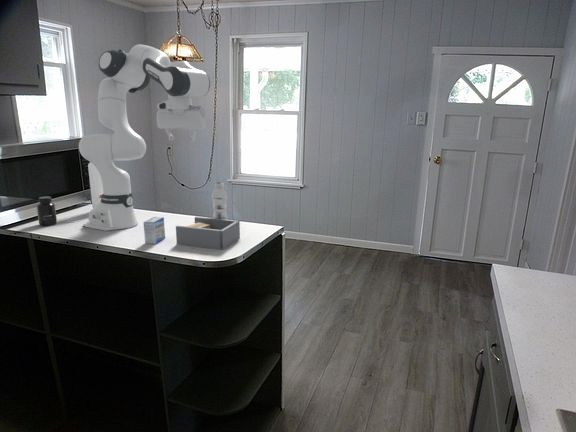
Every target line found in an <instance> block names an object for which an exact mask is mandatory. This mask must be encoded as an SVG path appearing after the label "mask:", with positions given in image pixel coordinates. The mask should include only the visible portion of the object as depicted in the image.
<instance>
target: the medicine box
mask: <svg viewBox="0 0 576 432" xmlns="http://www.w3.org/2000/svg"><path fill="white" fill-rule="evenodd" d="M165 230H166V229H165V218H164V216H153V217H150V218H149V219H147V220H145V221H143V232H144V233H143V234H144V244H147V245H148V244H150V245H158V243H160V242H162V241H163V240H165V239H166V231H165Z"/></svg>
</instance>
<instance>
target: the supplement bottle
mask: <svg viewBox="0 0 576 432" xmlns="http://www.w3.org/2000/svg"><path fill="white" fill-rule="evenodd" d="M36 210H37V219H38V225H39V226H41V227H51V226H54V225H56V224H57V223H58V219H57V210H56V204H55V203H54V202H53V199H52V196H48V195H47V196H40V197H38V204H37V205H36Z"/></svg>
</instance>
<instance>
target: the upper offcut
mask: <svg viewBox="0 0 576 432" xmlns="http://www.w3.org/2000/svg"><path fill="white" fill-rule="evenodd" d="M186 226H187V227H197V228H207V229H210V225H209V224H204V223H200V222H199V223H195V222H194V223H192V224H189V225H186Z"/></svg>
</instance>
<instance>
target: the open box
mask: <svg viewBox="0 0 576 432" xmlns="http://www.w3.org/2000/svg"><path fill="white" fill-rule="evenodd" d="M199 222H200V223H204V224H209V225H210V229H207V228H197V227H187V226H188V225H175V235H176V245H180V246H187V247H197V248H206V249H215V250H225V249H227V247H229V246H230V245H232V244H233V243H234V242H237V240H239V239H240V238H241V232H240V229H241V228H240V226H241V222H240V220H233V219H228V220H225V219H215V218H213V217H212V218H211V217H205V216H204V217H203V216H195V217H194V224H195V223H199Z"/></svg>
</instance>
